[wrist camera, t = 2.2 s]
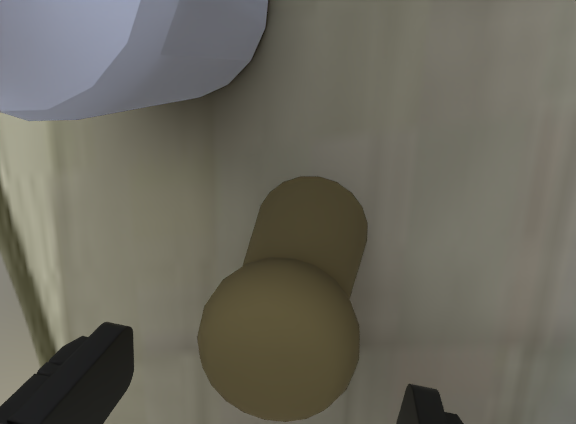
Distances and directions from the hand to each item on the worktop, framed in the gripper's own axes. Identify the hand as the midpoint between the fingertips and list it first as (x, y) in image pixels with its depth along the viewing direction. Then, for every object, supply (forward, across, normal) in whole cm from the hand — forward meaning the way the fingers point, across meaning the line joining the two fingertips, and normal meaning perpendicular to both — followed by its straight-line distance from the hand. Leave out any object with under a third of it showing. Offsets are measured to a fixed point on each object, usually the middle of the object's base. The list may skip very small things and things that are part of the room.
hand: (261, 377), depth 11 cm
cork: (+11, 0, 0) cm, 11 cm away
